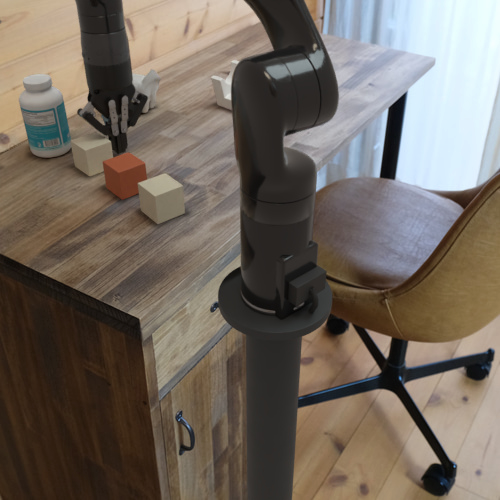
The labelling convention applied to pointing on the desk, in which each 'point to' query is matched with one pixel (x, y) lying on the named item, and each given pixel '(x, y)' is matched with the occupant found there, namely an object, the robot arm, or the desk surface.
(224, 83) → the bracket
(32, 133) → the pill bottle
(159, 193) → the near block
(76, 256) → the desk surface
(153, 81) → the elephant figurine
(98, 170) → the far block
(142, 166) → the block
